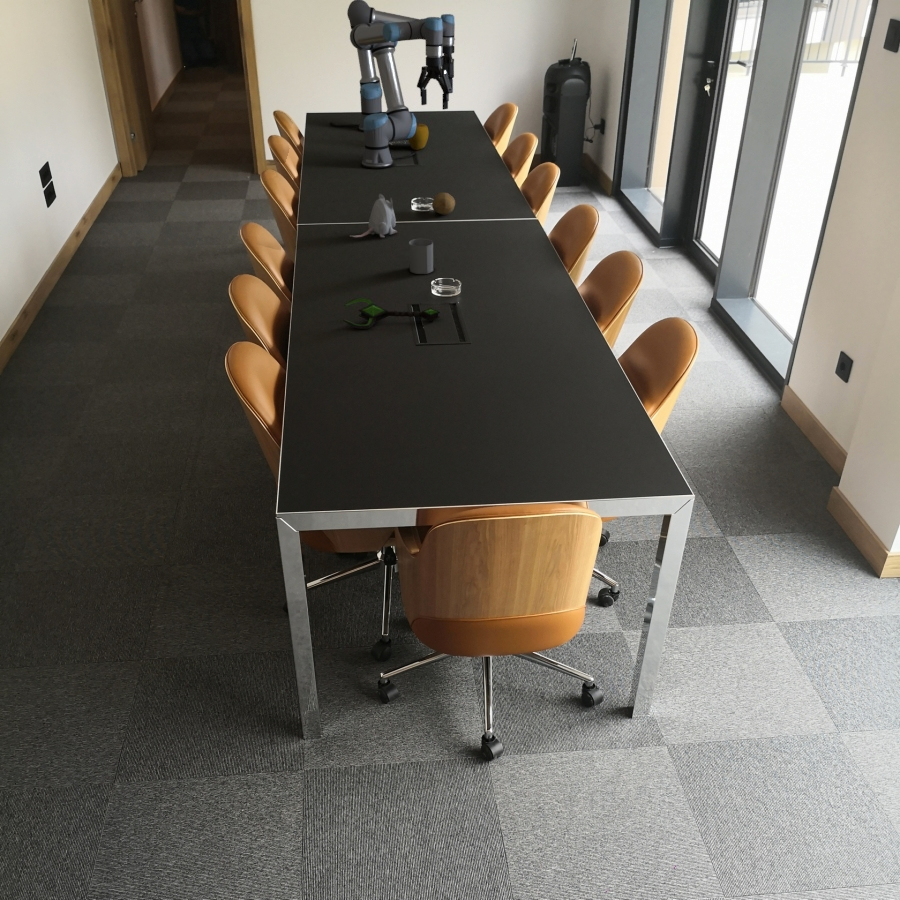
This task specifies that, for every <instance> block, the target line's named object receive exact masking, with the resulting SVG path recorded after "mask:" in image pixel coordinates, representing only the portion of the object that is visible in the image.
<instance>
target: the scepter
mask: <svg viewBox="0 0 900 900" xmlns="http://www.w3.org/2000/svg"><path fill="white" fill-rule="evenodd" d="M362 302H363V303H367V304H368V305H366V306H365V307H362V308H360V309H358V312H360V313H359V314H358V317H360V318H362V319H364V320H366V321H368V322H367V323H366V324H357V323H355V322H352V321H349V320H347V319H343V320H342V321H343V322H345V323H346V324H348V325H349V326H351V327H352V328H354V329H361V330H362V329H363V330H368V329H369V330H370V329H371V328H372V327H373V325H374V324H375V323H377V322H379V321H381V320H383V319H385V318H388V317H401V318H403V317H408V318H412V317H414V318H422V319H425V320H426V321H429V322H432V321H434V320H437V319H440V317H441V316H439V314H440V313H441V311H439V310H437V309H434V308H433V307H429V308H427V309H425V310H422V311H410V310H409V311H406V310H405V311H404V310H403V311H399V310H394V311H391V310H390V311H389V310H387V309H386V308H384V307H382V306H380V305H378V304H376V303H375V302H374V300H372V298H368V297H357V298H354V299H352V300H350V301H349V302H347V303H344V304H343V306H344V307H346V306H349V305H353V304H356V303H362Z"/></svg>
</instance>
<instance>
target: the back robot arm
mask: <svg viewBox="0 0 900 900" xmlns="http://www.w3.org/2000/svg"><path fill="white" fill-rule="evenodd" d="M346 13H347V19H348V20H349V25H350V30H352V29H353V28H354V27H355V26H356V25H359V24H364V23H376V22H389V23H391V22H407V21H413V20H419V19H420V20H423V21H425V19H426V18H427V17H426V18H415V17H410V16H406V15H400V14H396V13H392V12H386V11H381V10H376V8H375V7H373V6H370V5H369V4H368V3H367V1H365V0H353V1H351V2H350V4H349V5H348V8H347V12H346ZM440 18H441V19H442V26H443V44H442V56H441V57H442V58H443V65H442V67H441V68H442V70H445V69H447V75H448V78H449V81H450V85H451V88H452V79H453V78H454V77H455V66H454V65H455V58H453V54H454V53H455V40H456V38H455V28H456V27H455V25H456V24H455V16H454V14H451V13H445V14H444V13H443V14H441V15H440ZM356 51H357V52H356V53H357V57H358V58H357V59H358V65H359V70H360V77H361V78H360V80H359V87H360V88H359V95H360V112H361V113H360V114H361V115H360V119H359V124H335V123H333V122H329V124H330V125H331V126H333V127H338V128H346V127H348V128H350V127H353V128H354V127H358V130H359V131H361V132H364V128H363V126H364V119H365V118H366V117H367V116H369V115H371V114H376V113H377V114H378V113H383V105H382V102H383V101H382V99H383V88H382V83H381V78H380V76H377V69H376V63H375V57H374V56H372V53H371V50H359V49H357V48H356Z"/></svg>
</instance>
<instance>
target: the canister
mask: <svg viewBox="0 0 900 900" xmlns="http://www.w3.org/2000/svg"><path fill="white" fill-rule="evenodd" d="M453 82H454V79H453V78H452V92H451V93H450V94H454V93H453V92H454V83H453ZM443 93H444V92H443V91H442V94H443Z"/></svg>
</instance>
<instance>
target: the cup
mask: <svg viewBox="0 0 900 900" xmlns="http://www.w3.org/2000/svg"><path fill="white" fill-rule="evenodd" d="M408 253H409V272H411V273H412V274H416V275H426V274H430V273H432V272H434V241H433V240H431V239H428V238H422V237H421V238H420V237H419V238H414V239H411V240H410V241H409V242H408Z"/></svg>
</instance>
